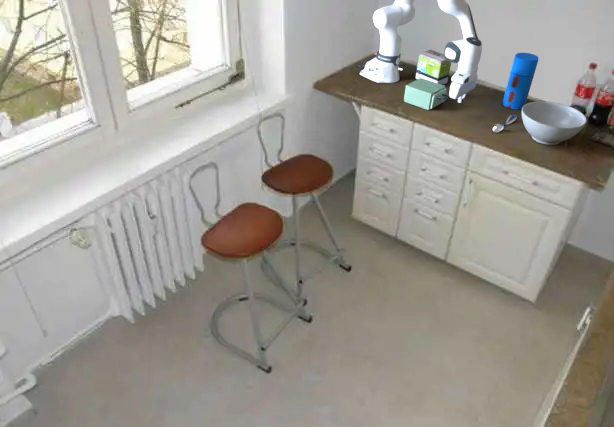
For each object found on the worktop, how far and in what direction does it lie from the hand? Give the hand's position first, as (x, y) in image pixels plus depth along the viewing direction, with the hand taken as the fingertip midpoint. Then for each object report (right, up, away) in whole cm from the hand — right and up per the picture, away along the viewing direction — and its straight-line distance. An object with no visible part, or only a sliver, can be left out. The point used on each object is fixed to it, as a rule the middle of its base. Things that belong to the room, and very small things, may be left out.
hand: (460, 101), depth 250 cm
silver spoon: (+19, -12, -5) cm, 23 cm away
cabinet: (-15, +3, +14) cm, 21 cm away
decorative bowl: (+34, -20, -14) cm, 42 cm away
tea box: (-5, +19, +36) cm, 41 cm away
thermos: (+31, +1, +14) cm, 34 cm away
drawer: (-12, +2, +11) cm, 17 cm away
